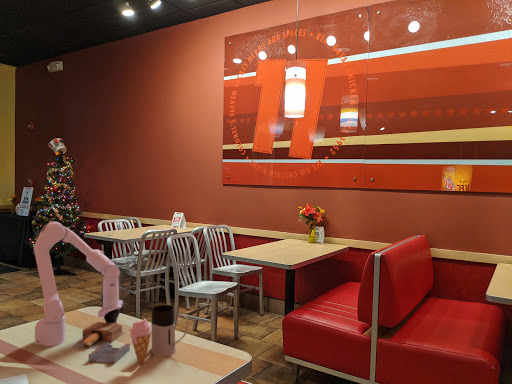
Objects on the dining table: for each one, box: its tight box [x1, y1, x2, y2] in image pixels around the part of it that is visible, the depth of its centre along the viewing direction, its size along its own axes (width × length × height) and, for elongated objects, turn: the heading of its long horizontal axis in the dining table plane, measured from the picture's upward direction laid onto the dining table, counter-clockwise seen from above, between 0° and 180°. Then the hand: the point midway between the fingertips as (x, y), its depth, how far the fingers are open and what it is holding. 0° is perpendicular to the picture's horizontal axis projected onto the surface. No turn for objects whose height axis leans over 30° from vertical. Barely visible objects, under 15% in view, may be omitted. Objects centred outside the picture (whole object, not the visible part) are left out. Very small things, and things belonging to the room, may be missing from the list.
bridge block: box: [71, 321, 126, 350], centre depth 143 cm, size 12×15×5 cm
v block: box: [88, 342, 131, 365], centre depth 129 cm, size 9×10×3 cm
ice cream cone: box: [128, 318, 152, 366], centre depth 125 cm, size 7×6×15 cm
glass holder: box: [150, 304, 189, 358], centre depth 133 cm, size 9×14×15 cm, turn 69°
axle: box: [83, 331, 103, 347], centre depth 143 cm, size 3×14×3 cm, turn 170°
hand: (111, 329), depth 151 cm, fingers closed
